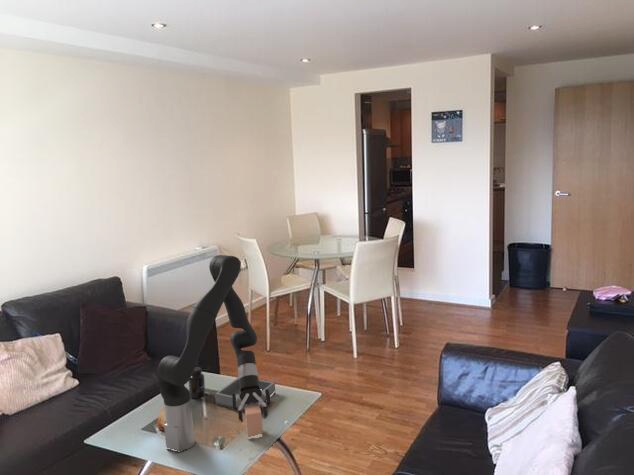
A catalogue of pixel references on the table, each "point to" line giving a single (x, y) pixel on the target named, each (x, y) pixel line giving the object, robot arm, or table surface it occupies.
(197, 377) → the supplement bottle
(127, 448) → the table surface
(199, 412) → the table surface
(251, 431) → the salmon pink block
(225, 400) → the charcoal bin
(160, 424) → the slice of bread
